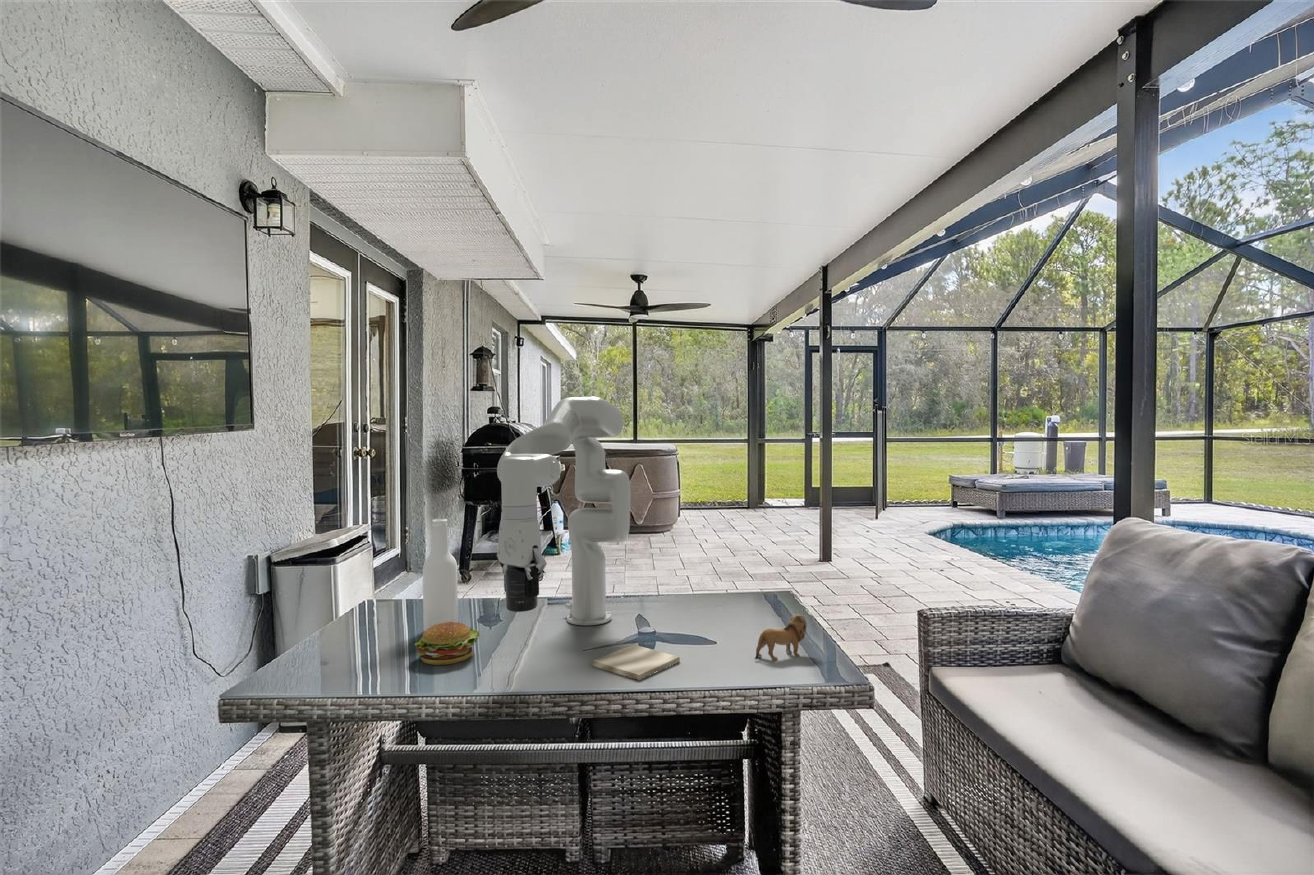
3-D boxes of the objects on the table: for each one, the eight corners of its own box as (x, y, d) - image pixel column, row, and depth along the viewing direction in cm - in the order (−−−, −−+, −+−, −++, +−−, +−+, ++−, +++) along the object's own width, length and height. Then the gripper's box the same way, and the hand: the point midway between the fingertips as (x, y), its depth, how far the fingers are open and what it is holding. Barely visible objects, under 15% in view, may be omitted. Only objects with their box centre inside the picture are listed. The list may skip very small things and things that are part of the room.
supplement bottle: (508, 604, 143) (507, 551, 143) (539, 602, 144) (537, 550, 143) (503, 613, 136) (502, 557, 136) (535, 611, 137) (534, 556, 136)
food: (454, 671, 141) (454, 635, 141) (404, 664, 146) (404, 629, 146) (491, 651, 154) (491, 618, 154) (443, 645, 159) (443, 613, 159)
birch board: (592, 665, 143) (592, 660, 143) (634, 649, 154) (634, 644, 154) (639, 680, 134) (638, 675, 134) (679, 662, 145) (679, 657, 145)
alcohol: (416, 634, 168) (414, 521, 168) (439, 624, 177) (438, 517, 177) (442, 637, 165) (441, 522, 165) (464, 628, 173) (463, 518, 173)
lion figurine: (798, 648, 154) (797, 611, 154) (812, 654, 150) (812, 616, 150) (748, 658, 147) (747, 619, 147) (762, 665, 143) (761, 625, 143)
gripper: (481, 511, 142) (483, 591, 143) (531, 518, 131) (533, 604, 131) (509, 508, 148) (511, 584, 148) (559, 514, 137) (560, 596, 137)
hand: (521, 593), depth 140 cm, fingers closed on supplement bottle, 6 cm apart
